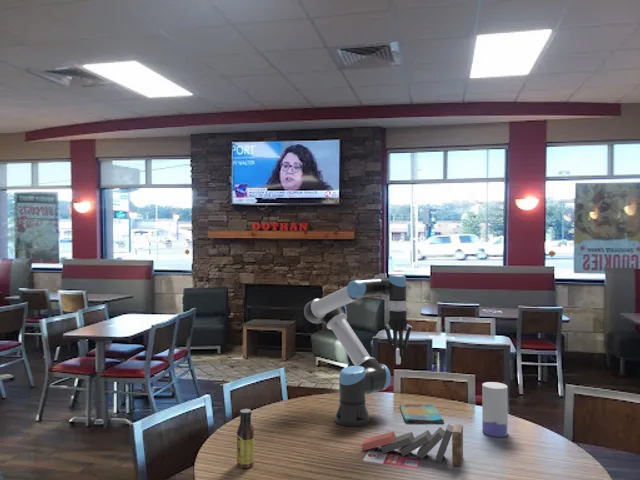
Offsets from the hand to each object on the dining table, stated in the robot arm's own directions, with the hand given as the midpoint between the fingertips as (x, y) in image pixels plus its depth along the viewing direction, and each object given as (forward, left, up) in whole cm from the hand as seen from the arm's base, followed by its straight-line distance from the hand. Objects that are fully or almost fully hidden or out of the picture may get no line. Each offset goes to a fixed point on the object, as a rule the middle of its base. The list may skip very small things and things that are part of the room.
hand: (398, 363), depth 223 cm
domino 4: (+22, -30, -26) cm, 45 cm away
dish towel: (+7, +15, -27) cm, 32 cm away
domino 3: (+15, -30, -26) cm, 42 cm away
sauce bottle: (-43, -61, -27) cm, 79 cm away
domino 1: (+1, -30, -25) cm, 39 cm away
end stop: (+28, -30, -26) cm, 49 cm away
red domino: (-7, -30, -25) cm, 40 cm away
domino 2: (+8, -30, -26) cm, 40 cm away
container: (+40, +4, -27) cm, 48 cm away
